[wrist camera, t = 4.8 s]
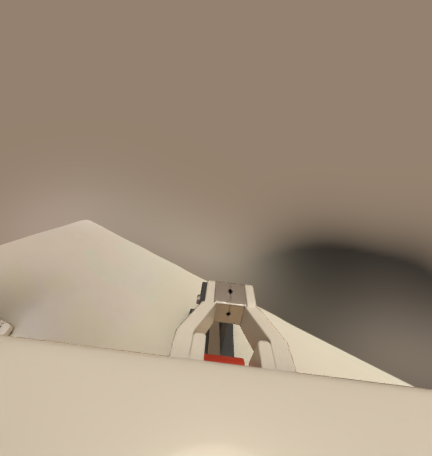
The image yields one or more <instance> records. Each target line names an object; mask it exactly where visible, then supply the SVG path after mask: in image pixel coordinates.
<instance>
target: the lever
mask: <svg viewBox="0 0 432 456" xmlns="http://www.w3.org/2000/svg"><path fill="white" fill-rule="evenodd" d="M204 361H211V362H219V363H227V364H235V365H243V366H245V364H244V359H243V358H236V357H228V356H221V355H220V337H219V322H213V324H212V325H211V326H210V332H209V346H208V354H205V353H204Z"/></svg>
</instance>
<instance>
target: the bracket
mask: <svg viewBox="0 0 432 456" xmlns="http://www.w3.org/2000/svg"><path fill="white" fill-rule="evenodd" d="M206 289H207V282H203V283H202V289H201V294H200V295H198V296H197V304H200V303H201V302H202V301H205V296H206ZM194 310H195V309H191V310H190V314H191V313H192V312H193V311H194ZM190 314H189V315H190ZM209 332H210V328H209V329H208V331H207V332H206V334H205V335H206V341H205V351H204V353H205V354H208V346H209ZM219 337H220V355H221V356H228V357H234V345H233V324H231V323H223V322H219Z"/></svg>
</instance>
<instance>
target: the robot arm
mask: <svg viewBox="0 0 432 456" xmlns="http://www.w3.org/2000/svg"><path fill="white" fill-rule="evenodd" d="M213 322H223V323H231V324H237V325H240V327H241V329H242V331H243V333H244V334H245V336H246V338H247V340H248V342H249V344H250V345H251V347H252V349H253V351H254V353H253V355H252V358H251V360H250V362H249V366H243V365H235V364H227V363H219V362H211V361H204V351H205V341H206V335H205V334H206V332H207V331H208V329H209V328H210V326H211V325H212V324H213ZM12 330H13V326H11V325H10V324H8V323H7V322H5V321H3V320H2V319H0V456H432V389H424V388H416V387H409V386H401V385H393V384H385V383H377V382H369V381H361V380H353V379H345V378H337V377H329V376H321V375H313V374H306V373H298V372H296V369H295V366H294V362H293V359H292V356H291V352H290V349H289V346H288V343H287V342H286V341H285V339H284V338H283V337H282V336H281V334H280V333H279V332H278V331H277V330H276V328H275V327H274V326H273V325H272V323H271V322H270V321H269V320H268V319H267V317H266V316H265V315H264V314H263V313H262V311H261V310H260V309H259V308H257V307H256V302H255V296H254V291H253V287H252V286H250V285H243V284H234V283H225V282H218V281H210V280H208V282H207V289H206V296H205V301H202V302H201V303H200V304H199V305H198V307H197V308H196V309H195V310H194V311H193V312H192V313H191V314H190V315H189V316H188V317H187V318H186V319H185V320H184V322H183V323H182V324H181V325H180V326H179V327H178V328H177V329H176V333H175V336H174V340H173V343H172V347H171V350H170V354H169V356H164V355H156V354H148V353H140V352H132V351H124V350H116V349H108V348H100V347H92V346H85V345H77V344H69V343H61V342H53V341H45V340H37V339H29V338H22V337H14V336H8V335H9V334H10V333H11V332H12Z"/></svg>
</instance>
